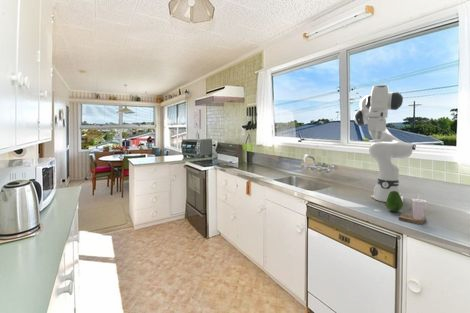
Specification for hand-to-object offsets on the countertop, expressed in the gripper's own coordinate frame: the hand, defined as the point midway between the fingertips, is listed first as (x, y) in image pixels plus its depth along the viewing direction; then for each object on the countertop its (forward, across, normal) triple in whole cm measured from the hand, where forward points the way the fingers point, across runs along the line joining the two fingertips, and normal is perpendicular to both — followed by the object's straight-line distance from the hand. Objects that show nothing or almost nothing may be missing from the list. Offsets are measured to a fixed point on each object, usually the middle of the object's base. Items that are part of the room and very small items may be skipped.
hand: (376, 139), depth 141 cm
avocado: (+41, -6, +10) cm, 43 cm away
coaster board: (+41, +2, +20) cm, 46 cm away
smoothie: (+40, +3, +22) cm, 46 cm away
